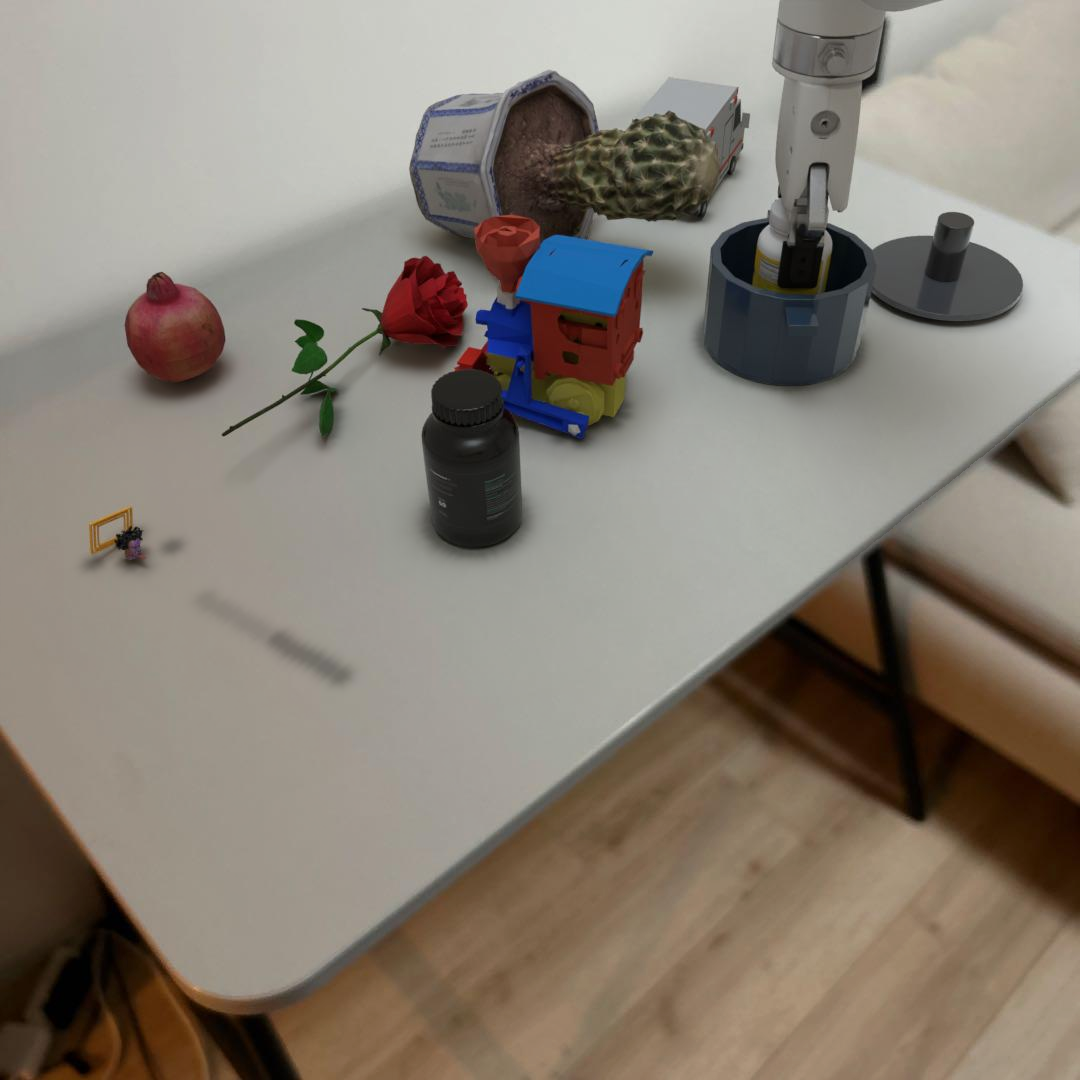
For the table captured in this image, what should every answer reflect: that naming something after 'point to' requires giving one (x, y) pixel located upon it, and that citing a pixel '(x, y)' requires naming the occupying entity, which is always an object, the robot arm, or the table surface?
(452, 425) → the supplement bottle
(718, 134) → the toy vehicle
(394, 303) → the flower
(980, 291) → the lid
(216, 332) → the fruit
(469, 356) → the toy train
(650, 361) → the table surface
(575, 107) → the potted plant
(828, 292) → the pot
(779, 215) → the pill bottle
